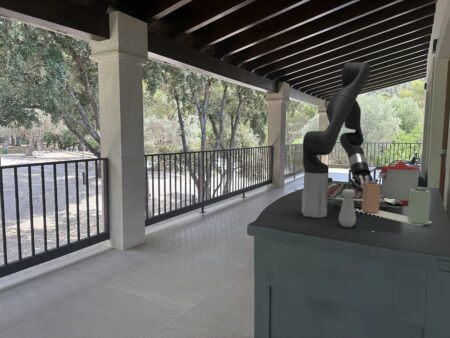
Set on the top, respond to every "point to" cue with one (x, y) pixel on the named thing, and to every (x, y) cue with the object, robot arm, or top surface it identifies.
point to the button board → (392, 217)
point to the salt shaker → (347, 209)
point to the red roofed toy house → (399, 181)
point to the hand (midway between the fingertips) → (367, 198)
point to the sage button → (419, 205)
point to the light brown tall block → (371, 196)
